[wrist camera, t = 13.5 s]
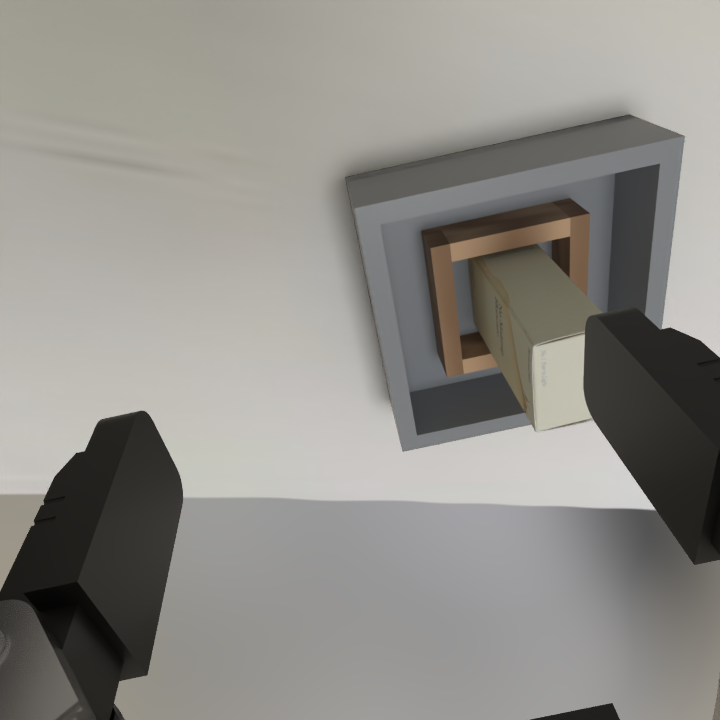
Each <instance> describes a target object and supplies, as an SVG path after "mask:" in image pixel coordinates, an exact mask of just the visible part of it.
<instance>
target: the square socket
mask: <svg viewBox="0 0 720 720" xmlns="http://www.w3.org/2000/svg"><path fill="white" fill-rule="evenodd" d="M589 231H590V213H589V212H588V211H586V210H585V209H584V208H582V207H581V206H580V205H579V204H577V203H576V202H575V201H573V200H572V199H571V198H568V199H563V200H559V201H554V202H549V203H545V204H540V205H536V206H531V207H527V208H522V209H517V210H513V211H508V212H504V213H499V214H494V215H490V216H485V217H481V218H476V219H472V220H467V221H462V222H458V223H453V224H449V225H444V226H439V227H435V228H430V229H426V230H421V233H422V241H423V248H424V256H425V263H426V270H427V278H428V285H429V293H430V300H431V307H432V315H433V322H434V329H435V337H436V344H437V352H438V356H439V359H440V361H441V364H442V366H443V369H444V371H445V374H446V376H447V377H452V376H456V375H461V374H466V373H470V372H475V371H480V370H484V369H489V368H494V367H498V365H497V363H496V361H495V359H494V358H493V356H492V354H491V352H490V351H489V349H488V347H487V345H486V343H485V342H484V340H483V338H482V336H481V334H480V333H479V332H476V333H471V334H466V335H462V336H460V333H459V323H458V314H457V305H456V296H455V286H454V277H453V268H452V262H454V261H459V260H463V259H468V258H472V257H477V256H482V255H486V254H491V253H495V252H500V251H505V250H509V249H514V248H518V247H523V246H528V245H532V244H537V243H541V242H546V241H551V240H552V260H553V261H554V262H555V263H556V264H557V265H558V266H559V267H560V268H561V270H562V271H563V272H564V273H565V274H566V275H567V276H568V277H569V278H570V279H571V280H572V281H573V282H574V283H575V284H576V285H577V286H578V287H579V288H580V290H581V291H582V292H583V293H584V294H585V295H586V296H587V289H588V260H589Z"/></svg>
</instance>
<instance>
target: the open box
mask: <svg viewBox="0 0 720 720" xmlns="http://www.w3.org/2000/svg"><path fill="white" fill-rule="evenodd" d="M684 138H685V136H683V135H681V134H678V133H676V132H673V131H670V130H668V129H665V128H663V127H660V126H658V125H655V124H652V123H650V122H647V121H645V120H642V119H640V118H637V117H634V116H632V115H626V116H621V117H617V118H612V119H608V120H603V121H599V122H594V123H590V124H585V125H581V126H576V127H571V128H567V129H562V130H558V131H553V132H549V133H544V134H540V135H535V136H531V137H526V138H522V139H517V140H512V141H508V142H503V143H499V144H494V145H490V146H485V147H481V148H476V149H472V150H467V151H463V152H458V153H453V154H449V155H444V156H440V157H435V158H431V159H426V160H422V161H417V162H413V163H408V164H404V165H399V166H394V167H390V168H385V169H381V170H376V171H372V172H367V173H363V174H358V175H354V176H349V177H345V178H346V183H347V188H348V193H349V198H350V203H351V208H352V213H353V218H354V222H355V227H356V232H357V237H358V242H359V247H360V252H361V257H362V262H363V267H364V272H365V277H366V282H367V287H368V292H369V297H370V302H371V307H372V312H373V317H374V322H375V327H376V332H377V337H378V342H379V347H380V352H381V357H382V362H383V367H384V372H385V377H386V382H387V387H388V392H389V397H390V401H391V406H392V410H393V414H394V418H395V422H396V426H397V430H398V435H399V439H400V443H401V447H402V451H403V452H404V451H408V450H413V449H418V448H423V447H427V446H432V445H437V444H442V443H446V442H451V441H456V440H460V439H465V438H470V437H475V436H479V435H484V434H489V433H494V432H498V431H503V430H508V429H512V428H517V427H522V426H527V425H531V423H530V421H529V419H528V417H527V416H526V414H525V412H524V410H523V408H522V407H521V405H520V403H519V402H518V400H517V398H516V396H515V395H514V393H513V391H512V389H511V387H510V386H509V384H508V382H507V380H506V379H505V377H504V375H503V373H502V372H501V370H500V368H499V366H498V367H494V368H489V369H484V370H480V371H475V372H470V373H466V374H461V375H456V376H452V377H447V376H446V374H445V371H444V369H443V366H442V364H441V361H440V359H439V356H438V352H437V344H436V337H435V329H434V322H433V315H432V307H431V300H430V293H429V285H428V278H427V270H426V263H425V256H424V248H423V241H422V233H421V230H426V229H430V228H435V227H439V226H444V225H449V224H453V223H458V222H462V221H467V220H472V219H476V218H481V217H485V216H490V215H494V214H499V213H504V212H508V211H513V210H517V209H522V208H527V207H531V206H536V205H540V204H545V203H549V202H554V201H559V200H563V199H568V198H571V199H572V200H573V201H575V202H576V203H577V204H579V205H580V206H581V207H582V208H584V209H585V210H586V211H588V212H589V213H590V231H589V260H588V289H587V297H588V298H589V299H590V300H591V301H592V302H593V303H594V304H595V305H596V306H597V308H599V309H600V311H601V312H602V313H605V312H610V311H615V310H619V309H624V308H629V307H635V308H637V309H639V310H640V311H641V312H642V313H643V314H644V315H645V316H646V317H647V318H648V319H649V320H650V321H652V322H653V323H654V324H655V325H656V326H657V327H658V328H659V329H660V330H661V329H662V321H663V313H664V305H665V296H666V288H667V280H668V271H669V263H670V254H671V246H672V238H673V229H674V221H675V213H676V204H677V196H678V188H679V179H680V171H681V163H682V154H683V146H684ZM537 244H538V245H539V246H540V247H541V249H542V250H543V251H544V252H545V253H546V254H547V255H548V256H549V257H550V258H551V259H552V240H551V241H546V242H541V243H537ZM452 268H453V277H454V286H455V296H456V305H457V314H458V323H459V333H460V336H462V335H466V334H471V333H476V332H479V331H478V329H477V327H476V325H475V323H474V315H473V305H472V296H471V285H470V273H469V259H463V260H459V261H454V262H452Z"/></svg>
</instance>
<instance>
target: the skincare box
mask: <svg viewBox="0 0 720 720" xmlns="http://www.w3.org/2000/svg"><path fill="white" fill-rule="evenodd" d="M468 259H469V273H470V285H471V296H472V305H473V315H474V323H475V325H476V327H477V329H478V331H479V333H480V334H481V336H482V338H483V340H484V342H485V343H486V345H487V347H488V349H489V351H490V352H491V354H492V356H493V358H494V359H495V361H496V363H497V365H498V366H499V368H500V370H501V372H502V373H503V375H504V377H505V379H506V380H507V382H508V384H509V386H510V387H511V389H512V391H513V393H514V395H515V396H516V398H517V400H518V402H519V403H520V405H521V407H522V408H523V410H524V412H525V414H526V416H527V417H528V419H529V421H530V423H531V424H532V426H533V428H534V430H535V431H536V432H543V431H548V430H552V429H557V428H562V427H566V426H571V425H576V424H580V423H585V422H589V421H593V418H592V416H591V415H590V412H589V410H588V407H587V404H586V401H585V397H584V390H583V376H584V346H585V325H586V321H587V319H588V317H589V316H592V315H596V314H601V313H602V312H601V311H600V309H599V308H597V306H596V305H595V304H594V303H593V302H592V301H591V300H590V299H589V298H588V297H587V296H586V295H585V294H584V293H583V292H582V291H581V290H580V288H579V287H578V286H577V285H576V284H575V283H574V282H573V281H572V280H571V279H570V278H569V277H568V276H567V275H566V274H565V273H564V272H563V271H562V270H561V268H560V267H559V266H558V265H557V264H556V263H555V262H554V261H553V260H552V259H551V258H550V257H549V256H548V255H547V254H546V253H545V252H544V251H543V250H542V249H541V247H540V246H539V245H538V244H532V245H528V246H523V247H518V248H514V249H509V250H505V251H500V252H495V253H491V254H486V255H482V256H477V257H472V258H468Z"/></svg>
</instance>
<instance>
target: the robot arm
mask: <svg viewBox="0 0 720 720" xmlns="http://www.w3.org/2000/svg"><path fill="white" fill-rule="evenodd" d="M583 390H584V397H585V401H586V404H587V407H588V410H589V412H590V415H591V416H592V418H593V420H594V421H595V423H596V424H597V426H598V427H599V428H600V430H601V431H602V433H603V434H604V436H605V437H606V439H607V440H608V441H609V443H610V444H611V446H612V447H613V449H614V450H615V452H616V453H617V454H618V456H619V457H620V459H621V460H622V462H623V463H624V464H625V466H626V467H627V469H628V470H629V472H630V473H631V475H632V476H633V477H634V479H635V480H636V482H637V483H638V485H639V486H640V487H641V489H642V490H643V492H644V493H645V495H646V496H647V498H648V499H649V500H650V502H651V503H652V505H653V506H654V508H655V509H656V510H657V512H658V513H659V515H660V516H661V518H662V519H663V521H664V522H665V523H666V525H667V526H668V528H669V529H670V531H671V532H672V533H673V535H674V536H675V538H676V539H677V541H678V542H679V544H680V545H681V546H682V548H683V549H684V551H685V552H686V554H687V555H688V557H689V558H690V559H691V561H692V562H693V564H694V565H696V564H701V563H705V562H711V561H716V560H720V357H718V356H717V355H716V354H715V353H714V352H713V351H711V350H710V349H709V348H708V347H707V346H706V345H705V344H703V343H702V342H701V341H700V340H698V339H695V338H693V337H691V336H689V335H686V334H684V333H682V332H679V331H677V330H675V329H673V328H666V329H661V330H660V329H659V328H658V327H657V326H656V325H655V324H654V323H653V322H652V321H650V320H649V319H648V318H647V317H646V316H645V315H644V314H643V313H642V312H641V311H640V310H639V309H637V308H635V307H629V308H624V309H619V310H615V311H610V312H605V313H601V314H596V315H592V316H589V317H588V319H587V321H586V325H585V346H584V376H583ZM182 503H183V489H182V483H181V479H180V475H179V472H178V470H177V468H176V466H175V464H174V462H173V460H172V458H171V456H170V454H169V452H168V450H167V448H166V446H165V444H164V442H163V440H162V438H161V436H160V434H159V432H158V430H157V428H156V426H155V424H154V422H153V420H152V419H151V417H150V416H149V414H148V413H147V412H145V411H138V412H133V413H129V414H124V415H119V416H115V417H110V418H105V419H102V420H100V421H99V422H98V423H97V425H96V427H95V429H94V432H93V434H92V436H91V439H90V441H89V443H88V445H87V448H86V450H85V451H84V452H79V453H76V454H75V455H74V456H73V457H72V458H71V459H70V461H69V462H68V463H67V464H66V465H65V466H64V467H63V468H62V469H61V470H60V471H59V473H58V474H57V475H56V476H55V477H54V479H53V482H52V484H51V486H50V488H49V490H48V492H47V494H46V496H45V498H44V505H42V506H41V507H40V509H39V511H38V513H37V515H36V517H35V519H34V523H35V525H34V526H31V528H30V530H29V532H28V534H27V537H26V538H25V541H24V543H23V545H22V547H21V549H20V551H19V553H18V555H17V558H16V559H15V562H14V564H13V566H12V568H11V570H10V572H9V574H8V576H7V578H6V581H5V583H4V585H3V587H2V589H1V591H0V720H125V719H124V717H123V716H122V714H121V712H120V711H119V709H118V708H117V706H116V705H115V704H114V700H115V696H116V691H117V688H118V683H119V681H122V680H126V679H131V678H136V677H141V676H146V675H147V674H148V670H149V665H150V660H151V655H152V650H153V645H154V640H155V635H156V631H157V625H158V621H159V615H160V611H161V606H162V601H163V596H164V592H165V587H166V582H167V577H168V572H169V567H170V562H171V558H172V552H173V548H174V543H175V538H176V533H177V528H178V523H179V518H180V513H181V509H182ZM531 720H620V719H619V717H618V715H617V712H616V710H615V708H614V706H613V704H612V703H611V704H606V705H600V706H595V707H591V708H586V709H581V710H576V711H571V712H566V713H561V714H556V715H551V716H546V717H541V718H536V719H531ZM713 720H720V675H719V684H718V691H717V698H716V704H715V710H714V715H713Z"/></svg>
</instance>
